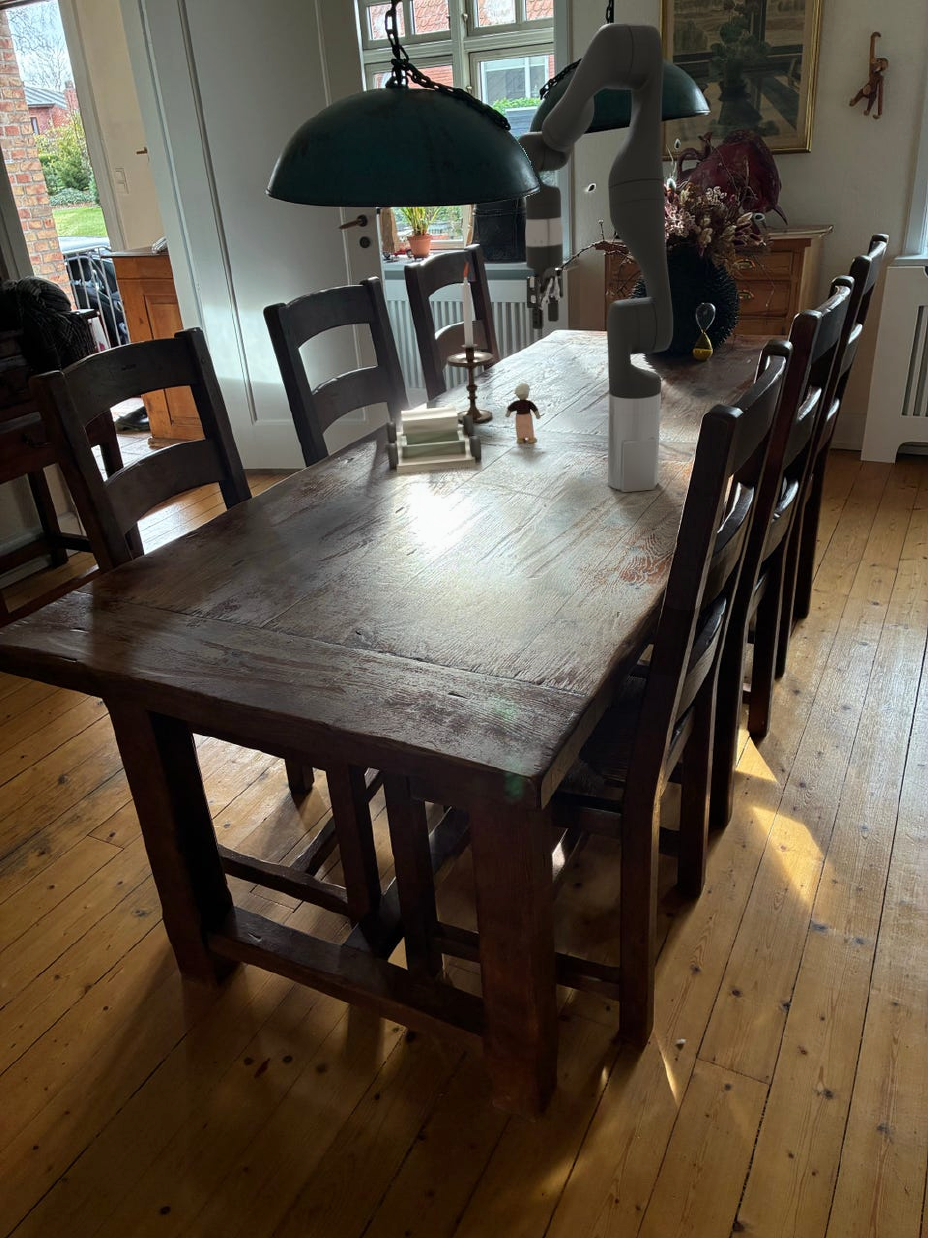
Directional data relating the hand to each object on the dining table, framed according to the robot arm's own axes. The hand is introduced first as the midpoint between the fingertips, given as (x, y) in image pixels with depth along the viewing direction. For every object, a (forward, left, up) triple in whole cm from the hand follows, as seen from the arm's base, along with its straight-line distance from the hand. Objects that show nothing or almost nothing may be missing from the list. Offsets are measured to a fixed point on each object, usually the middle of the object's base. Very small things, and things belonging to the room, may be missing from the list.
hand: (546, 324), depth 194 cm
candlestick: (+16, +15, -24) cm, 32 cm away
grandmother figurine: (-5, +6, -24) cm, 25 cm away
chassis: (-7, +26, -23) cm, 36 cm away
